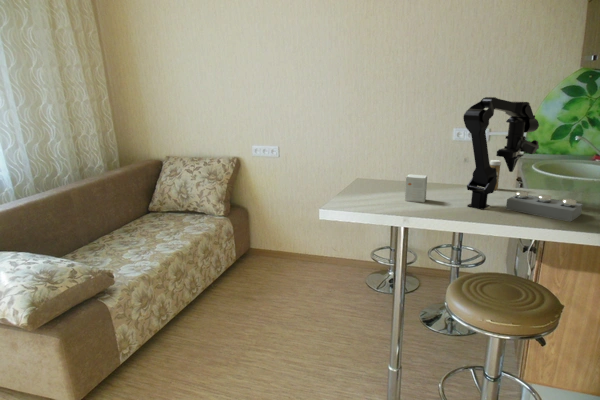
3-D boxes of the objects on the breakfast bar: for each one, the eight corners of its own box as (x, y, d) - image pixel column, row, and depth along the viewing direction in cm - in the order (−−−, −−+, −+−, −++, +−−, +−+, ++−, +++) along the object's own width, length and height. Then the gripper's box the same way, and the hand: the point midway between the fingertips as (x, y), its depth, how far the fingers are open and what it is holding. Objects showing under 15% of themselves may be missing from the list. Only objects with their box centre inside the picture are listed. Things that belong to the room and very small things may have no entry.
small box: (426, 199, 173) (427, 175, 170) (424, 202, 168) (425, 178, 166) (407, 197, 177) (408, 173, 174) (404, 200, 172) (405, 176, 169)
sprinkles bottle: (499, 189, 188) (503, 160, 184) (494, 190, 185) (497, 161, 182) (490, 187, 191) (493, 159, 188) (485, 188, 189) (488, 160, 185)
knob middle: (547, 210, 151) (549, 198, 149) (534, 208, 154) (536, 196, 153) (551, 208, 154) (553, 196, 152) (538, 206, 157) (540, 194, 155)
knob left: (524, 206, 157) (525, 194, 155) (512, 204, 160) (513, 192, 158) (528, 204, 159) (530, 192, 158) (516, 202, 162) (518, 190, 161)
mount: (570, 221, 142) (572, 210, 141) (505, 209, 158) (507, 199, 157) (580, 214, 150) (582, 204, 149) (517, 202, 166) (519, 193, 165)
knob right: (572, 215, 145) (574, 202, 144) (558, 213, 148) (560, 200, 147) (575, 212, 148) (578, 200, 147) (562, 210, 151) (564, 198, 150)
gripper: (528, 137, 151) (523, 178, 156) (546, 133, 163) (540, 171, 167) (498, 135, 159) (493, 174, 164) (517, 131, 171) (512, 167, 175)
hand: (511, 171), depth 167 cm, fingers closed
